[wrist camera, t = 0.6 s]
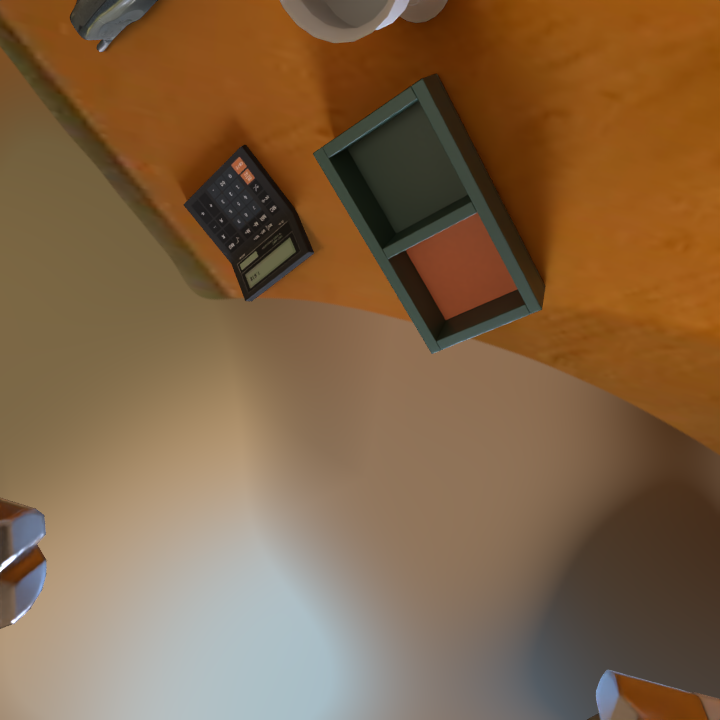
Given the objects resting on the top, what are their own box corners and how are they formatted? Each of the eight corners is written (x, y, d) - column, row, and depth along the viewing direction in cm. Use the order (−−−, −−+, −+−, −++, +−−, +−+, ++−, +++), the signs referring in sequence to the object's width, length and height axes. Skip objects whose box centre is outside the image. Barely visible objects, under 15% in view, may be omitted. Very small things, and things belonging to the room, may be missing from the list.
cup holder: (437, 73, 46) (422, 78, 42) (545, 286, 51) (542, 309, 47) (334, 142, 51) (312, 153, 47) (442, 329, 57) (431, 354, 52)
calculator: (245, 144, 54) (229, 150, 52) (323, 245, 56) (311, 255, 54) (188, 202, 59) (171, 210, 56) (261, 292, 61) (248, 304, 59)
